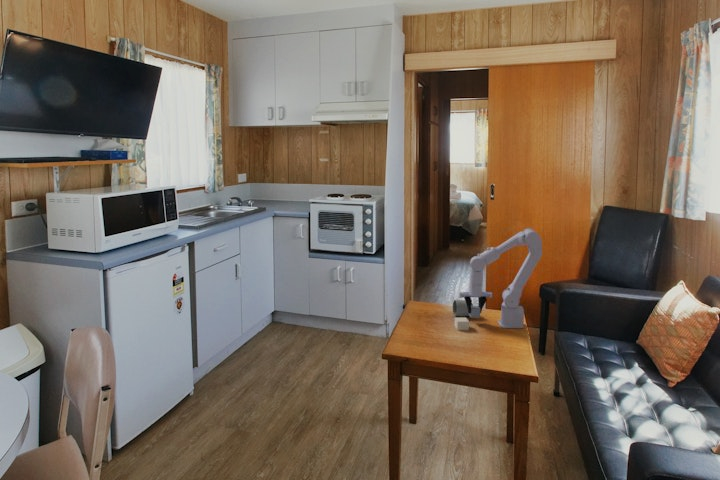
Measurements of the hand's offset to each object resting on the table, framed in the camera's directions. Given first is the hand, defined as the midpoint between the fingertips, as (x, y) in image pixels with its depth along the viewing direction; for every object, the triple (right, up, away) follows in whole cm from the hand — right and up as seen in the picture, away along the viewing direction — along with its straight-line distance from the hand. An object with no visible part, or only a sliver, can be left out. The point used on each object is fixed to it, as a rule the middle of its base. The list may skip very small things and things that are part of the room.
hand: (474, 312), depth 228 cm
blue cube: (0, -2, 0) cm, 2 cm away
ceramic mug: (-4, -3, +12) cm, 12 cm away
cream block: (-7, -6, -5) cm, 11 cm away
